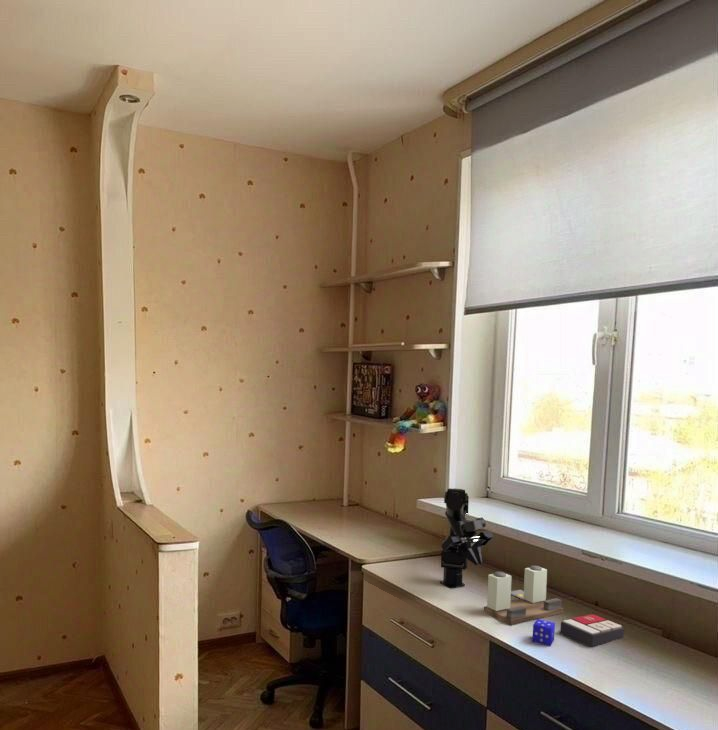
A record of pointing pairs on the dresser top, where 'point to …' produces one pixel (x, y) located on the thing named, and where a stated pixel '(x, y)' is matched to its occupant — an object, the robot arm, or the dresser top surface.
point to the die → (543, 632)
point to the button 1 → (499, 591)
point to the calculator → (591, 630)
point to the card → (518, 593)
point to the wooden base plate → (526, 611)
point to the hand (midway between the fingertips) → (479, 564)
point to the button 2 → (535, 584)
